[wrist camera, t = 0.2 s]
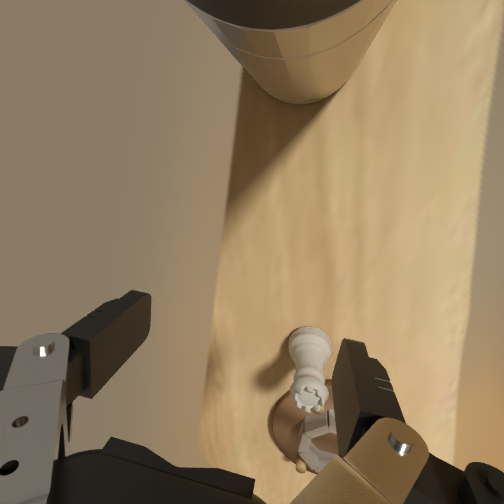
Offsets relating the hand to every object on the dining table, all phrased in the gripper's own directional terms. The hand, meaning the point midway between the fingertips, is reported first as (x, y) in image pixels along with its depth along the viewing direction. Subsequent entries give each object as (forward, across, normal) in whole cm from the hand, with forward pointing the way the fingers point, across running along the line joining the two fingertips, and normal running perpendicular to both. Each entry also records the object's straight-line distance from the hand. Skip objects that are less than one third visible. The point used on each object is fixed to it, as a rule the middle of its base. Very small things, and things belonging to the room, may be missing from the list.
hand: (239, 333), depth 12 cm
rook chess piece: (+18, -5, +11) cm, 22 cm away
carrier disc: (+18, -10, +22) cm, 31 cm away
